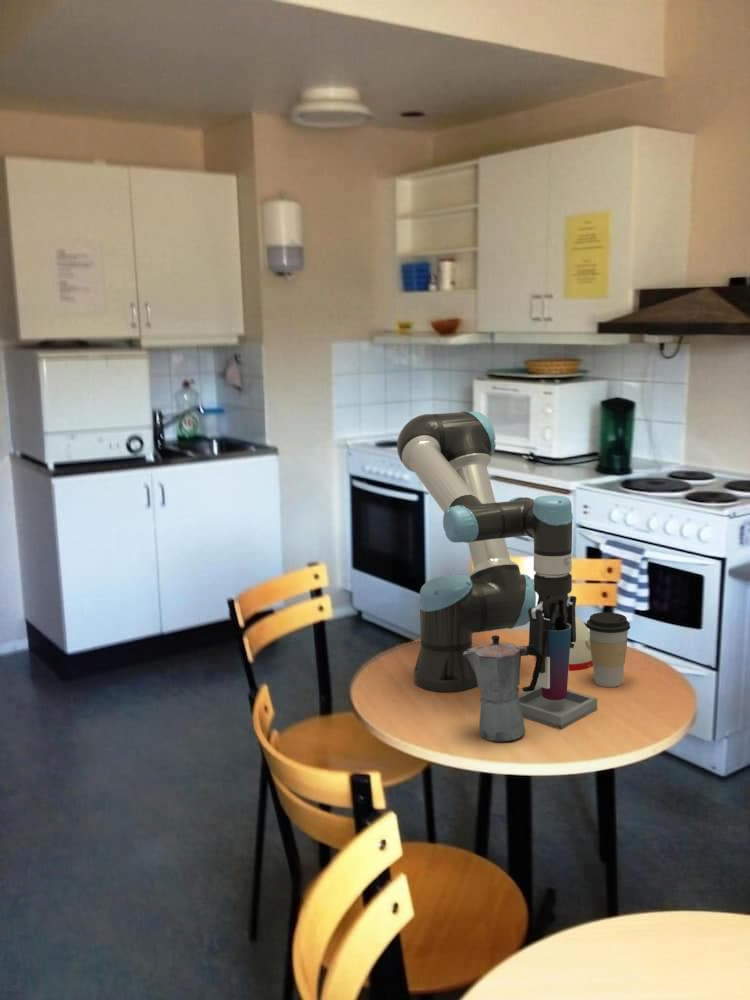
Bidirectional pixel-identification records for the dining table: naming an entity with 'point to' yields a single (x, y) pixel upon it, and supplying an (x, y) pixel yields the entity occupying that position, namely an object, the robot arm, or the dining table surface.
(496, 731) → the moka pot
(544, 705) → the tray
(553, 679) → the cup
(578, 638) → the kitchen timer
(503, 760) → the dining table surface
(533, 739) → the dining table surface
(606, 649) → the coffee cup
